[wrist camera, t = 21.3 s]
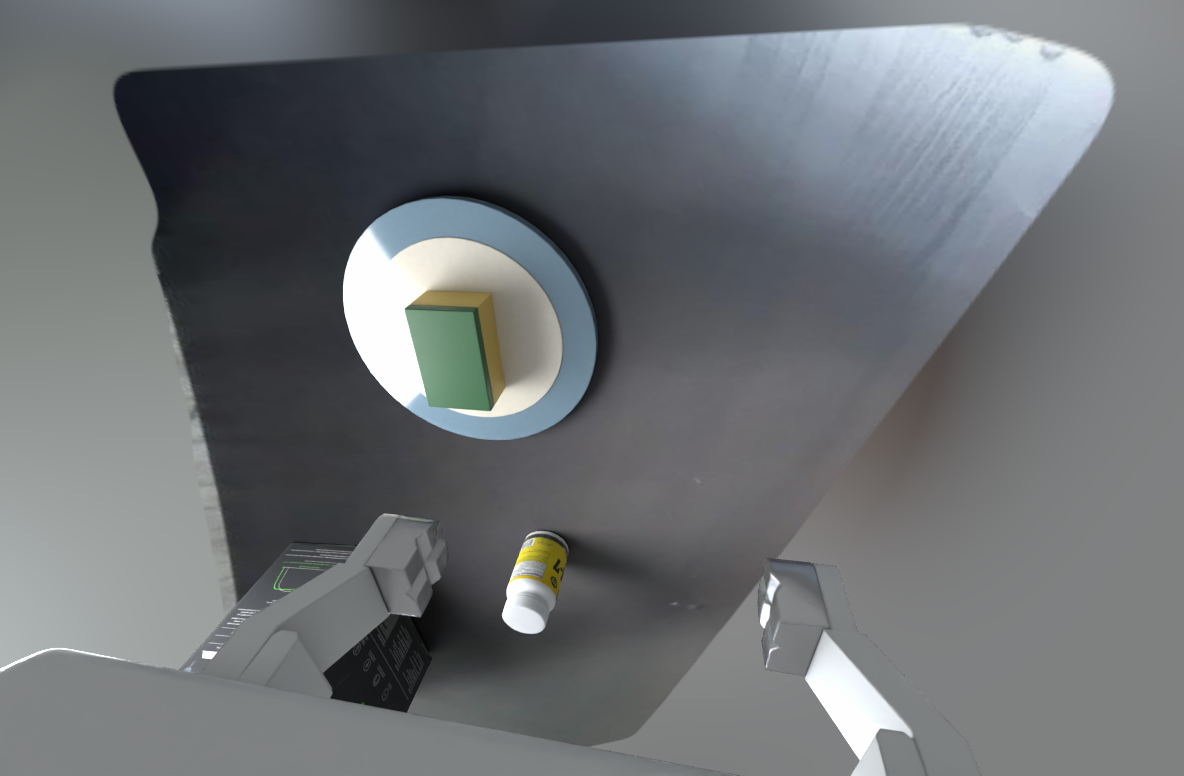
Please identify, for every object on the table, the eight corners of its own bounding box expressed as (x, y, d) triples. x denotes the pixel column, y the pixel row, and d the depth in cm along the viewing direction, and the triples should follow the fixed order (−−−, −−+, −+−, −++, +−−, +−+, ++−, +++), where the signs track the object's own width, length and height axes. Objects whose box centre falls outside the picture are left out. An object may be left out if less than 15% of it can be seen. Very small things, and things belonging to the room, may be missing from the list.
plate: (313, 195, 34) (304, 198, 33) (594, 194, 31) (591, 198, 30) (387, 425, 44) (381, 431, 44) (601, 442, 41) (599, 450, 40)
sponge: (426, 290, 35) (403, 308, 32) (491, 292, 34) (473, 311, 32) (447, 383, 39) (428, 407, 37) (505, 387, 39) (491, 411, 36)
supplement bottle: (570, 563, 51) (550, 640, 44) (526, 557, 51) (500, 632, 44) (568, 532, 48) (548, 609, 41) (523, 526, 49) (494, 600, 42)
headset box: (287, 539, 57) (44, 814, 36) (376, 543, 55) (172, 843, 33) (359, 648, 69) (208, 906, 47) (436, 656, 66) (313, 933, 45)
